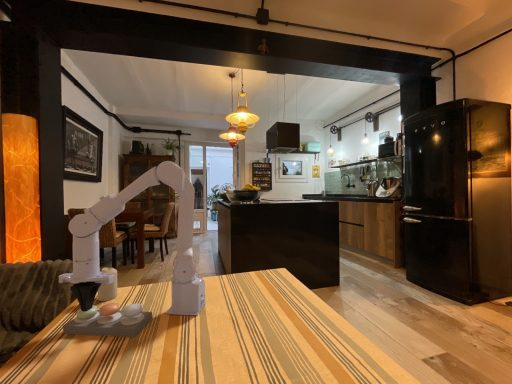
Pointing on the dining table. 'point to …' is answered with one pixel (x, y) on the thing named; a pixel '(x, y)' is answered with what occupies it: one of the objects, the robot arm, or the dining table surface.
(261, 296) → the dining table surface
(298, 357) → the dining table surface
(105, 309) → the terracotta button
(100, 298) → the candle
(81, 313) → the green button
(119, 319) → the button board
